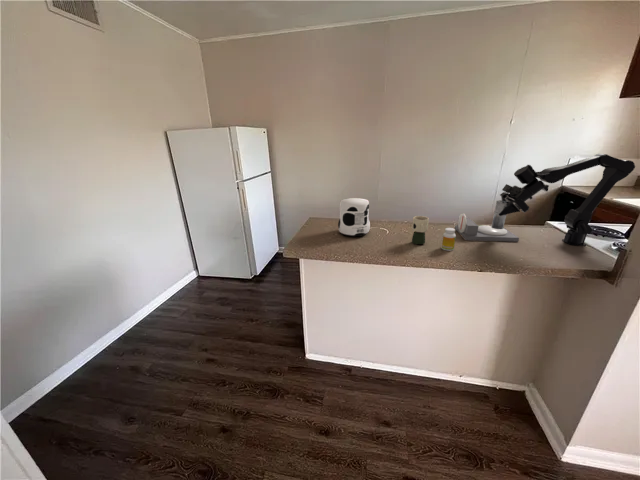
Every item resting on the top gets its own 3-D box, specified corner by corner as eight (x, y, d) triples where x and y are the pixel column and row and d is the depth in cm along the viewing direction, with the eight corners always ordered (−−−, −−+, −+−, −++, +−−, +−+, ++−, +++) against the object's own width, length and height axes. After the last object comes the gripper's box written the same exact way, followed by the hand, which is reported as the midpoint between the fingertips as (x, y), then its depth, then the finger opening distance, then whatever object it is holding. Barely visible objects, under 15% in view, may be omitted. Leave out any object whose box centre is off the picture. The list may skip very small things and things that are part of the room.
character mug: (409, 238, 139) (411, 214, 134) (424, 239, 138) (427, 214, 133) (411, 247, 129) (414, 221, 124) (427, 247, 128) (431, 221, 123)
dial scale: (501, 229, 148) (505, 210, 144) (518, 241, 132) (523, 220, 128) (453, 228, 152) (456, 209, 148) (464, 240, 136) (468, 219, 132)
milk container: (348, 226, 161) (348, 196, 154) (375, 231, 151) (376, 199, 144) (332, 235, 148) (331, 202, 141) (360, 241, 138) (361, 206, 131)
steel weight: (503, 227, 133) (509, 201, 129) (502, 229, 130) (508, 203, 125) (492, 225, 136) (497, 200, 132) (490, 228, 133) (495, 202, 128)
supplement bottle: (454, 251, 123) (458, 231, 120) (442, 250, 124) (445, 230, 121) (452, 246, 128) (455, 227, 125) (439, 246, 129) (442, 227, 126)
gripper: (508, 175, 132) (479, 197, 138) (527, 181, 115) (493, 206, 121) (522, 191, 133) (493, 212, 140) (543, 200, 116) (509, 224, 123)
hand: (497, 213), depth 131 cm, fingers closed on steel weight, 5 cm apart
